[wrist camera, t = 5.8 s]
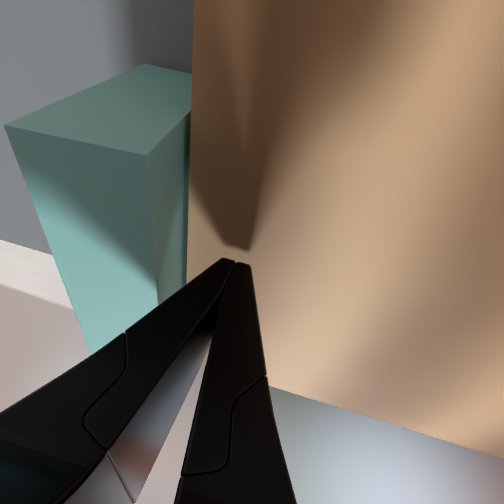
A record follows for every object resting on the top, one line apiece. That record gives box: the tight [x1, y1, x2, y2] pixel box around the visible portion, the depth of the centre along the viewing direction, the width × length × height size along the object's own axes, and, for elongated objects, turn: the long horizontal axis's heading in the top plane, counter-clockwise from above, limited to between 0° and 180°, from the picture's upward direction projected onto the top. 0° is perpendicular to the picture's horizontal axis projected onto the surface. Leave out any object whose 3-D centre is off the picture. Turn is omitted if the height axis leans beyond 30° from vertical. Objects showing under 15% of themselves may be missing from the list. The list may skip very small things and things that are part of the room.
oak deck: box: [186, 0, 504, 459], centre depth 10 cm, size 16×14×4 cm
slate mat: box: [0, 0, 194, 255], centre depth 13 cm, size 13×15×1 cm
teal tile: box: [4, 64, 192, 355], centre depth 10 cm, size 6×8×2 cm
